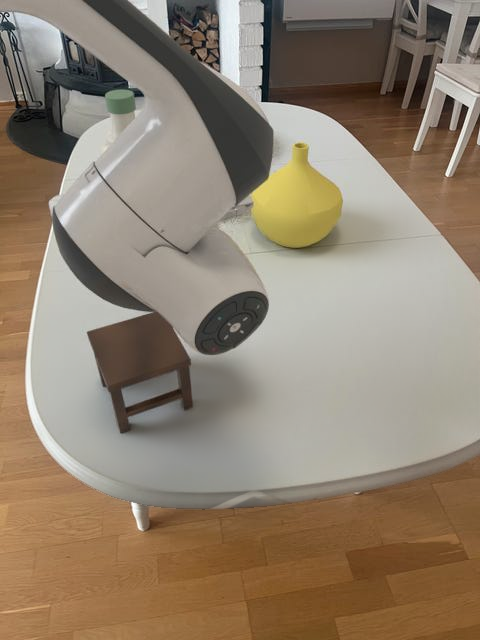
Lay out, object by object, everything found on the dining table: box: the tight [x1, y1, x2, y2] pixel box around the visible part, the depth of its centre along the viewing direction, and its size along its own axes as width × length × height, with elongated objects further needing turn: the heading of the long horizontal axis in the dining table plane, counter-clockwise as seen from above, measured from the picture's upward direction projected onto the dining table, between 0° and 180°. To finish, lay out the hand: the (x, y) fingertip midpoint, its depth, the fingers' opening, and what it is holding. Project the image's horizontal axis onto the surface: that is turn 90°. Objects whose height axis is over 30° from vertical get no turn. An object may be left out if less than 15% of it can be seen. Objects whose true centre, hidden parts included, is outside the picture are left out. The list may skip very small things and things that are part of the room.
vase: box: [249, 141, 344, 249], centre depth 102 cm, size 18×18×19 cm
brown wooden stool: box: [86, 311, 194, 434], centre depth 73 cm, size 11×11×10 cm
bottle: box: [100, 89, 137, 156], centre depth 60 cm, size 6×6×18 cm
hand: (129, 174), depth 61 cm, fingers closed on bottle, 6 cm apart
